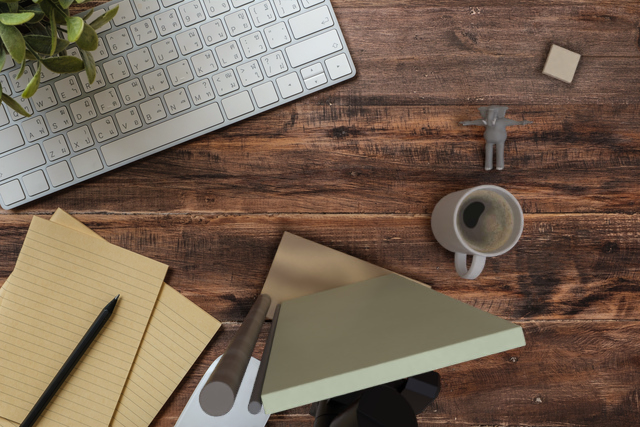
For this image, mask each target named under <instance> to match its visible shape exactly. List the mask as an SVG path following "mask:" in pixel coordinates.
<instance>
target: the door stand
mask: <svg viewBox="0 0 640 427" xmlns="http://www.w3.org/2000/svg"><path fill="white" fill-rule="evenodd" d="M392 273H394V274H397V275H399V276H402V277H404V278H407V279H409V280H411V281H414V282H416V283H419V284H421V285H423V286H426V287H428V288H431V289H432V286H431V285H430V284H427V283H424V282H422V281H419V280H416V279H415V278H411V277H409V276H406V275H404V274H400V273H397V272H395V271H392V270H389V269H387V268H385V267H383V266H379V265H377V264H374V263H371V262H370V261H366V260H364V259H361V258H358V257H356V256H352V255H350V254H347V253H346V252H343V251H340V250H336V249H334V248H332V247H329V246H326V245H324V244H321V243H319V242H316V241H313V240H311V239H308V238H305V237H302V236H300V235H297V234H295V233H292V232H289V231H287V230H284V232H283V234H282V237H281V239H280V242H279V243H278V247H277V250H276V253H275V255H274V258H273V260H272V263H271V266H270V269H269V271H268V273H267V276H266V279H265V282H264V284H263V287H262V289H261V292H260V294H259V295H258V296H257V298H256V299H255V301H254V303H252V304H253V305H252V306H251V308H250V309H249V311H248V313H247V314H246V316H245V317H244V319H243V321H242V322H241V324H240V326H239V327H238V329H237V330H236V332H235V334H234V335H233V338H232V339H231V340H230V342H229V344H228V345H227V347H226V348H225V350H224V352H223V354H222V355H221V356H220V359H219V360H218V362H217V364H216V365H215V367H214V368H213V370H212V371H211V373H210V375H209V377H208V378H207V380H206V381H205V383H204V385H203V386H202V388H201V389H200V391H199V395H198V402H199V407H200V409H201V410H202V411H203V412H204V413H205V414H206V415H208V416H211V417H214V418H215V417H217V418H218V417H223V416H225V415H227V414H229V412H230V411H231V410H232V408H233V407H234V405H235V402H236V399H237V397H238V393H239V391H240V388H241V385H242V383H243V380H244V377H245V375H246V372H247V369H248V367H249V364H250V361H251V359H252V356H253V353H254V351H255V348H256V345H257V343H258V340H259V337H260V334H261V331H262V329H263V326H264V324H265V321H266V318H267V319H270V320H272V319H273V316H274V312H275V309H276V305H277V304H281V303H282V301H286V300H290V299H294V298H298V297H302V296H306V295H310V294H314V293H318V292H321V291H325V290H329V289H333V288H337V287H341V286H345V285H349V284H353V283H357V282H360V281H364V280H368V279H372V278H376V277H380V276H384V275H388V274H392Z"/></svg>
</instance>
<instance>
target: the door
mask: <svg viewBox="0 0 640 427" xmlns="http://www.w3.org/2000/svg"><path fill="white" fill-rule="evenodd" d="M526 345H527V343H526V338H525V335H524V331H523V327H522V326H521V325H519V324H517V323H514V322H512V321H510V320H507V319H505V318H503V317H500V316H498V315H496V314H493V313H491V312H488V311H486V310H483V309H481V308H479V307H476V306H474V305H471V304H469V303H467V302H464V301H462V300H459V299H457V298H455V297H452V296H451V295H450V296H449V295H447V294H445V293H444V292H443V293H442V292H440V291H437V290H435V289H433V288H432V287H431V288H428V287H426V286H423V285H421V284H419V283H416V282H414V281H411V280H409V279H407V278H404V277H402V276H399V275H397V274H394V273H392V274H388V275H384V276H380V277H376V278H372V279H368V280H364V281H360V282H357V283H353V284H349V285H345V286H341V287H337V288H333V289H329V290H325V291H321V292H318V293H314V294H310V295H306V296H302V297H298V298H294V299H290V300H286V301H282V303H281V304H277V305H276V309H275V312H274V316H273V319H271V323H270V326H269V330H268V334H267V337H266V340H265V343H264V347H263V351H262V354H261V358H260V362H259V365H258V368H257V372H256V376H255V379H254V382H253V386H252V389H251V392H250V397H249V401H248V403H247V411H248V413H249V414H251V415H258V414H259V413H261V410H262V409H263V411H264V414H265V416H268V415H273V414H275V413H280V412H283V411H286V410H290V409H294V408H299V407H302V406H306V405H309V404H312V403H313V402H317V401H321V400H324V399H328V398H332V397H335V396H339V395H343V394H347V393H350V392H354V391H358V390H361V389H365V388H369V387H373V386H376V385H380V384H384V383H387V382H391V381H395V380H399V379H402V378H405V379H407V377H410V376H413V375H417V374H421V373H425V372H428V371H432V370H433V371H435V370H440V369H443V368H447V367H451V366H454V365H457V364H461V363H465V362H469V361H473V360H477V359H480V358H483V357H488V356H492V355H495V354H498V353H502V352H506V351H510V350H514V349H518V348H520V347H521V348H522V347H525V346H526ZM262 407H263V408H262Z"/></svg>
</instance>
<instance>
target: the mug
mask: <svg viewBox="0 0 640 427" xmlns="http://www.w3.org/2000/svg"><path fill="white" fill-rule="evenodd" d="M524 222H525V220H524V212H523V209H522V206H521V204H520V203H519V201H518V199H517V198H516V197H515V196H514V195H513V194H512V193H511V192H510V191H508V190H507V189H505V188H503V187H501V186H499V185H494V184H481V185H478V186H473V187H469V188H465V189H461V190H458V191H453V192H451V193H447V194H446V195H445V196H443V197H442V198H441V199H440V200H438V202H436V204H435V205H434V207H433V210H432V213H431V217H430V225H431V226H430V227H431V231H432V234H433V236H434V238H435V239H436V241H437V243H439V245H440V246H441V247H442V248H444V249H445V250H448V251H449V252H451V253H454V269H455V271H456V273H457V275H458V276H459V278H461V279H466V280H475V279H477V278H478V277H479V276H480V275H481V273H482V272H483V270H484V268H485V264H486V260H487V258H493V257H497V256H498V257H499V256H501V255H504V254H506V253H507V252H509V251H510V250H511V249H512V248H513V247H515V245H517V243H518V242H519V240H520V238H521V236H522V233H523V230H524V224H525V223H524ZM467 255H470V256H472V260H471V264H470V266H469V269H468V268H467Z"/></svg>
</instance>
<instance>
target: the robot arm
mask: <svg viewBox="0 0 640 427" xmlns="http://www.w3.org/2000/svg"><path fill="white" fill-rule="evenodd" d="M441 380H442V378H441V374H440V373H439V372H438V371H435V370H432V371H428V372H425V373H421V374H417V375H413V376H410V377H406V378H402V379H399V380H395V381H391V382H387V383H384V384H380V385H376V386H373V387H369V388H365V389H361V390H358V391H354V392H350V393H347V394H343V395H339V396H335V397H332V398H328V399H324V400H321V401H317V402H313V403H311V405H310V408H309V412H308V415H310V416H311V417H314V422H313V427H419V423H418V418H417V416H419V415H420V414H422V413H423V412H424V411H426V409H427V408H428V407H429V406H430V405H432V403H434V401H435V400H436V399H438V398H439V395H440V392H441V383H442V382H441Z"/></svg>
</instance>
